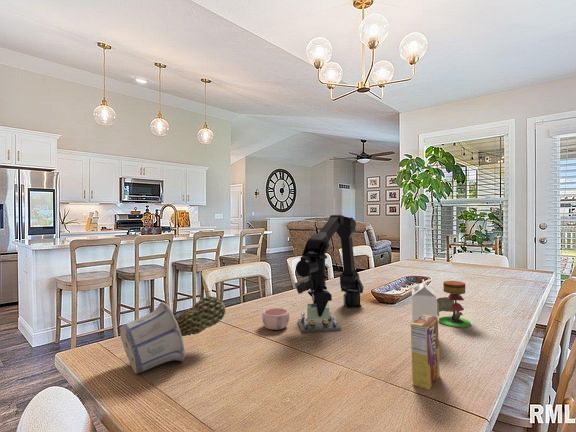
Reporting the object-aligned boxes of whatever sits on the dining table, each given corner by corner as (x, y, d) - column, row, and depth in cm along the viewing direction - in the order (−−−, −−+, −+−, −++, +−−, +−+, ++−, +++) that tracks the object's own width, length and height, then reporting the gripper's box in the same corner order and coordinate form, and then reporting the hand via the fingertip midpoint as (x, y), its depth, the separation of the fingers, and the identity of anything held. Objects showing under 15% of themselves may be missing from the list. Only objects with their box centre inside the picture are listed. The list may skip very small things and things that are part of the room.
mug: (293, 329, 120) (293, 313, 120) (267, 334, 116) (267, 317, 116) (281, 319, 131) (281, 304, 131) (257, 323, 127) (257, 308, 127)
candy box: (422, 370, 88) (422, 313, 88) (440, 376, 85) (439, 317, 85) (410, 384, 81) (410, 323, 81) (429, 390, 79) (428, 326, 78)
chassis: (333, 320, 129) (333, 309, 129) (340, 330, 118) (340, 319, 118) (297, 321, 128) (297, 311, 128) (301, 332, 117) (301, 321, 117)
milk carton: (434, 335, 112) (434, 279, 111) (436, 344, 105) (436, 284, 105) (412, 333, 114) (411, 278, 114) (412, 341, 107) (412, 283, 107)
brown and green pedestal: (476, 321, 125) (476, 281, 125) (467, 330, 116) (466, 287, 115) (443, 314, 133) (443, 277, 133) (432, 323, 124) (431, 283, 124)
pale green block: (329, 314, 125) (328, 302, 125) (329, 318, 120) (329, 306, 120) (307, 314, 126) (307, 302, 126) (307, 318, 121) (307, 306, 121)
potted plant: (125, 331, 81) (229, 283, 100) (109, 317, 95) (203, 277, 113) (146, 395, 83) (244, 336, 102) (128, 372, 97) (217, 324, 116)
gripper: (292, 268, 131) (293, 307, 131) (299, 278, 113) (300, 323, 113) (320, 267, 132) (321, 306, 133) (331, 276, 114) (332, 322, 114)
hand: (318, 313), depth 123 cm, fingers closed on pale green block, 5 cm apart
